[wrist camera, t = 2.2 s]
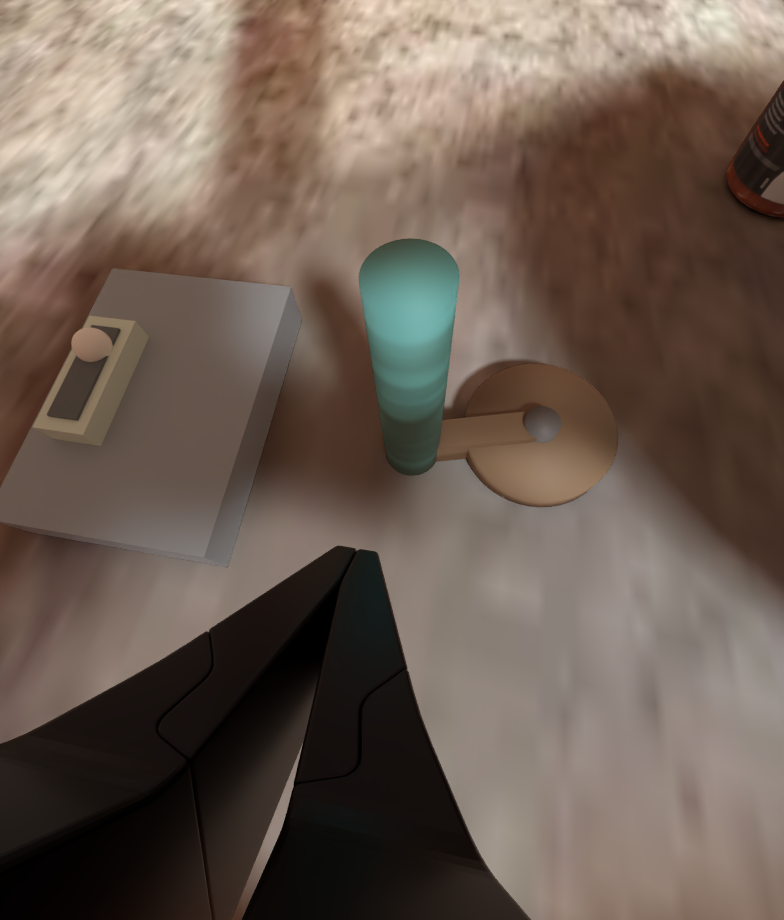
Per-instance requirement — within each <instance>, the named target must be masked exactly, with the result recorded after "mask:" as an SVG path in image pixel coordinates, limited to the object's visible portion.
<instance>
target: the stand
mask: <svg viewBox="0 0 784 920" xmlns="http://www.w3.org/2000/svg"><path fill="white" fill-rule="evenodd" d="M301 321H302V317H301V314H300V311H299V308H298V305H297V302H296V300H295V297H294V294H293V291H292V288H291V287H288V286H279V285H269V284H259V283H250V282H240V281H231V280H221V279H212V278H202V277H193V276H183V275H174V274H164V273H155V272H145V271H135V270H126V269H116V268H112V270H111V272H110V274H109V276H108V278H107V280H106V282H105V284H104V286H103V288H102V290H101V291H100V293H99V295H98V297H97V299H96V301H95V303H94V305H93V307H92V309H91V311H90V313H89V315H88V317H87V319H86V321H85V323H84V325H83V327H82V329H80V330H79V331H77V332H76V333H75V334H74V336H73V337H72V341H71V345H72V348H71V350H70V352H69V354H68V356H67V358H66V360H65V362H64V364H63V366H62V368H61V370H60V372H59V374H58V376H57V378H56V379H55V381H54V383H53V385H52V387H51V389H50V391H49V393H48V395H47V397H46V399H45V401H44V403H43V405H42V407H41V409H40V411H39V413H38V415H37V417H36V419H35V421H34V423H33V424H32V426H31V428H30V430H29V432H28V434H27V436H26V438H25V440H24V442H23V444H22V446H21V448H20V450H19V452H18V454H17V456H16V458H15V460H14V462H13V464H12V466H11V467H10V469H9V471H8V473H7V475H6V477H5V479H4V481H3V483H2V485H1V487H0V524H3V525H7V526H10V527H14V528H17V529H20V530H24V531H27V532H31V533H37V534H43V535H48V536H54V537H60V538H65V539H71V540H77V541H82V542H88V543H94V544H99V545H105V546H111V547H116V548H122V549H128V550H133V551H139V552H145V553H150V554H156V555H162V556H167V557H173V558H179V559H184V560H190V561H196V562H201V563H207V564H213V565H218V566H224V567H228V564H229V561H230V558H231V554H232V551H233V548H234V544H235V541H236V538H237V534H238V531H239V528H240V524H241V521H242V518H243V514H244V511H245V508H246V504H247V501H248V498H249V494H250V491H251V488H252V484H253V481H254V478H255V474H256V471H257V468H258V464H259V461H260V458H261V454H262V451H263V448H264V444H265V441H266V438H267V434H268V431H269V428H270V424H271V421H272V418H273V414H274V411H275V408H276V404H277V401H278V398H279V395H280V391H281V388H282V385H283V381H284V378H285V375H286V371H287V368H288V365H289V361H290V358H291V355H292V351H293V348H294V345H295V341H296V338H297V335H298V331H299V328H300V325H301Z"/></svg>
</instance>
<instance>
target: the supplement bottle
mask: <svg viewBox="0 0 784 920" xmlns="http://www.w3.org/2000/svg"><path fill="white" fill-rule="evenodd" d="M726 177H727V183H728V185H729V187H730V189H731V191H732V193H733V194H734V195H735V196H736V198H738V199H739V200H740V201H741V202H742V203H744V204H745V205H746V206H748V207H750V208H752V209H753V210H755V211H757V212H759V213H762V214H765V215H769V216H775V217H784V81H783V82H782V84H781V85H780V87H779V88H778V90H777V91H776V93H775V94H774V96H773V97H772V99H771V100H770V102H769V103H768V105H767V106H766V108H765V110H764V111H763V113H762V114H761V115H760V117H759V118H758V120H757V122H756V123H755V124H754V126H753V127H752V129H751V131H750V132H749V134H748V135H747V137H746V138H745V140H744V141H743V143H742V144H741V146H740V147H739V149H738V151H737V153H736V154H735V156H734V157H733V159H732V160H731V162H730V164H729V166H728V169H727V173H726Z"/></svg>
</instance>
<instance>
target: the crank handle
mask: <svg viewBox="0 0 784 920" xmlns="http://www.w3.org/2000/svg"><path fill="white" fill-rule="evenodd" d="M458 285H459V270H458V266H457V264H456V262H455V260H454V259H453V257H452V256H451V255H450V254H449V253H448V252H447V251H446V250H445V249H443V248H442V247H440V246H439V245H437V244H435V243H432V242H429V241H426V240H421V239H401V240H396V241H392V242H389V243H386V244H384V245H382V246H380V247H379V248H377V249H375V250H374V251H373V252H372V253H371V254H370V255H369V256H368V257H367V258H366V259H365V261H364V262H363V264H362V266H361V269H360V273H359V286H360V292H361V299H362V305H363V311H364V318H365V324H366V330H367V337H368V343H369V349H370V356H371V362H372V369H373V375H374V381H375V388H376V394H377V400H378V407H379V413H380V420H381V426H382V432H383V439H384V445H385V451H386V457H387V460H388V462H389V464H390V465H391V466H392V467H393V468H394V469H395V470H396V471H398V472H400V473H402V474H405V475H419V474H422V473H424V472H426V471H428V470H429V469H430V468H431V467H432V466H433V465H434V464H435V462H436V461H446V460H456V459H466V458H467V461H468V463H469V465H470V467H471V469H472V470H473V472H474V473H475V474H476V476H477V477H478V478H479V479H480V480H481V482H482V483H483V484H484V485H485V486H487V487H488V488H489V489H490V490H492V491H493V492H494V493H496V494H498V495H499V496H501V497H503V498H505V499H507V500H509V501H512V502H515V503H518V504H521V505H526V506H532V507H551V506H557V505H562V504H565V503H568V502H570V501H573V500H575V499H577V498H579V497H580V496H582V495H583V494H585V493H586V492H587V491H588V490H589V489H590V488H592V487H593V486H594V485H595V484H596V483H597V482H598V481H599V480H601V479H602V477H603V476H604V475H605V474H606V473H607V471H608V470H609V468H610V466H611V465H612V463H613V460H614V458H615V455H616V451H617V446H618V431H617V425H616V421H615V418H614V415H613V413H612V410H611V409H610V407H609V405H608V403H607V402H606V400H605V399H604V397H603V396H602V395H601V394H600V393H599V392H598V390H597V389H596V388H595V387H593V386H592V385H591V384H590V383H589V382H587V381H586V380H584V379H583V378H582V377H580V376H578V375H576V374H574V373H572V372H570V371H568V370H565V369H563V368H559V367H556V366H551V365H546V364H523V365H516V366H513V367H509V368H506V369H504V370H501V371H499V372H497V373H496V374H494V375H492V376H491V377H489V378H488V379H487V380H485V381H484V382H483V383H482V384H481V385H480V386H479V387H478V389H477V390H476V391H475V393H474V394H473V396H472V398H471V400H470V401H469V404H468V407H467V410H466V414H465V418H458V419H448V420H442V419H443V411H444V403H445V394H446V386H447V377H448V369H449V361H450V352H451V344H452V335H453V327H454V319H455V310H456V302H457V293H458Z"/></svg>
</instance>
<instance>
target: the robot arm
mask: <svg viewBox="0 0 784 920" xmlns="http://www.w3.org/2000/svg"><path fill="white" fill-rule="evenodd" d="M302 743H303V746H302ZM301 746H302V750H301V754H300V759H299V763H298V767H297V772H296V776H295V780H294V788H293V790H292V794H291V798H290V802H289V806H288V810H287V813H286V817H285V820H284V823H283V827H282V830H281V832H280V835H279V837H278V839H277V842H276V844H275V846H274V848H273V851H272V853H271V855H270V857H269V860H268V862H267V864H266V866H265V869H264V871H263V873H262V875H261V878H260V880H259V882H258V884H257V887H256V889H255V891H254V893H253V896H252V898H251V900H250V902H249V905H248V907H247V909H246V911H245V914H244V916H243V918H242V920H531V919H530V918H529V917H528V916H527V914H526V913H525V912H524V911H523V910H522V909H521V907H520V906H519V905H518V904H517V903H516V902H515V900H514V899H513V898H512V897H511V896H510V895H509V893H508V892H507V891H506V890H505V889H504V888H503V886H502V885H501V884H500V883H499V882H498V880H497V879H496V878H495V877H494V875H493V874H492V873H491V871H490V870H489V868H488V867H487V865H486V864H485V862H484V860H483V858H482V857H481V855H480V853H479V851H478V849H477V847H476V845H475V843H474V841H473V839H472V837H471V835H470V833H469V830H468V828H467V826H466V824H465V821H464V819H463V817H462V814H461V812H460V810H459V807H458V805H457V802H456V800H455V798H454V795H453V793H452V791H451V788H450V786H449V783H448V781H447V779H446V776H445V774H444V772H443V769H442V767H441V764H440V762H439V760H438V757H437V755H436V753H435V750H434V748H433V745H432V743H431V740H430V738H429V735H428V732H427V730H426V727H425V724H424V722H423V719H422V717H421V714H420V710H419V707H418V704H417V700H416V697H415V694H414V690H413V687H412V683H411V679H410V675H409V672H408V671H407V664H406V661H405V657H404V653H403V649H402V645H401V641H400V637H399V633H398V629H397V626H396V622H395V618H394V614H393V610H392V606H391V602H390V598H389V594H388V590H387V587H386V583H385V579H384V575H383V571H382V567H381V563H380V559H379V555H378V553H377V552H375V551H368V550H362V549H359V550H358V551H356V549H355V548H350V547H344V546H336V547H334V548H333V549H331V550H330V551H328V552H326V553H325V554H323V555H322V556H320V557H319V558H317V559H316V560H314V561H313V562H311V563H310V564H308V565H307V566H305V567H304V568H302V569H301V570H299V571H298V572H296V573H294V574H293V575H291V576H290V577H288V578H287V579H285V580H284V581H282V582H281V583H279V584H278V585H276V586H275V587H273V588H272V589H270V590H269V591H267V592H266V593H264V594H262V595H261V596H259V597H258V598H256V599H255V600H253V601H252V602H250V603H249V604H247V605H246V606H244V607H243V608H241V609H240V610H238V611H237V612H235V613H234V614H232V615H230V616H229V617H227V618H226V619H224V620H223V621H221V622H220V623H218V624H217V625H215V626H214V627H212V628H211V629H210V630H209V632H204V633H203V634H201V635H200V636H198V637H197V638H195V639H194V640H192V641H191V642H189V643H187V644H186V645H184V646H183V647H181V648H179V649H178V650H176V651H175V652H173V653H171V654H170V655H168V656H167V657H165V658H163V659H162V660H160V661H158V662H157V663H155V664H153V665H151V666H150V667H148V668H146V669H144V670H143V671H141V672H139V673H137V674H136V675H134V676H132V677H130V678H128V679H127V680H125V681H123V682H121V683H119V684H117V685H116V686H114V687H112V688H110V689H108V690H106V691H105V692H103V693H101V694H99V695H97V696H95V697H94V698H92V699H90V700H88V701H86V702H84V703H82V704H81V705H79V706H77V707H75V708H73V709H71V710H70V711H68V712H66V713H64V714H62V715H60V716H59V717H57V718H55V719H53V720H51V721H49V722H47V723H46V724H44V725H42V726H40V727H38V728H36V729H34V730H32V731H30V732H28V733H26V734H24V735H22V736H19V737H17V738H14V739H12V740H10V741H7V742H4V743H1V744H0V920H232V917H233V915H234V912H235V910H236V907H237V905H238V902H239V900H240V897H241V895H242V892H243V890H244V887H245V885H246V882H247V880H248V877H249V875H250V872H251V870H252V867H253V865H254V862H255V860H256V857H257V855H258V853H259V850H260V848H261V845H262V843H263V840H264V838H265V835H266V833H267V830H268V828H269V825H270V823H271V820H272V818H273V815H274V813H275V810H276V808H277V805H278V803H279V800H280V798H281V795H282V793H283V790H284V788H285V785H286V783H287V780H288V778H289V775H290V773H291V770H292V768H293V765H294V763H295V760H296V758H297V755H298V753H299V750H300V748H301Z"/></svg>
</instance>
